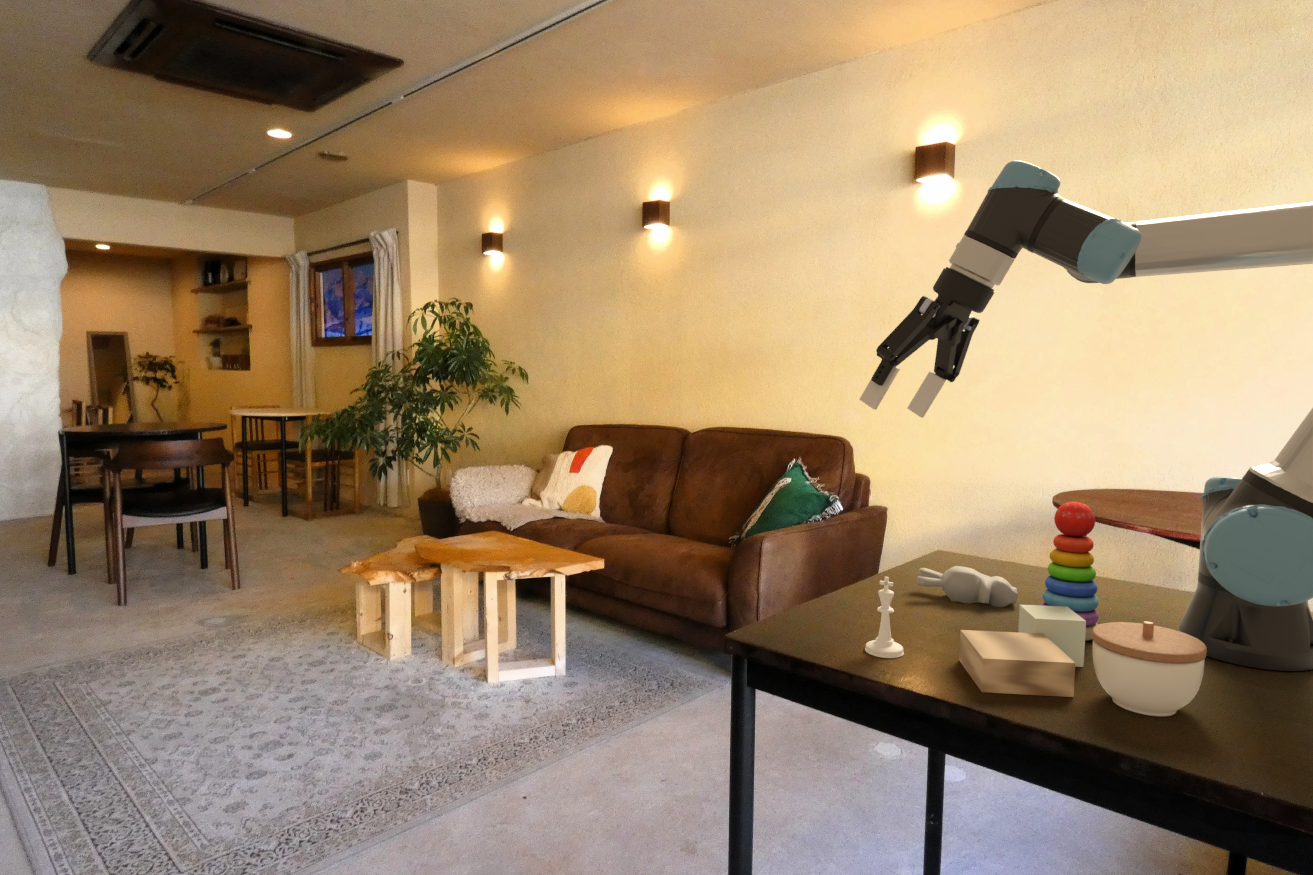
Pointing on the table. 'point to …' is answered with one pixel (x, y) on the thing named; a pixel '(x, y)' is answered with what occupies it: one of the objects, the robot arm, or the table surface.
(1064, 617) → the cube
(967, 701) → the table surface
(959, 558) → the table surface
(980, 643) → the plinth
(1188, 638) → the lidded jar
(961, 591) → the bunny figurine
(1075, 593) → the stacking toy
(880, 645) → the chess piece
